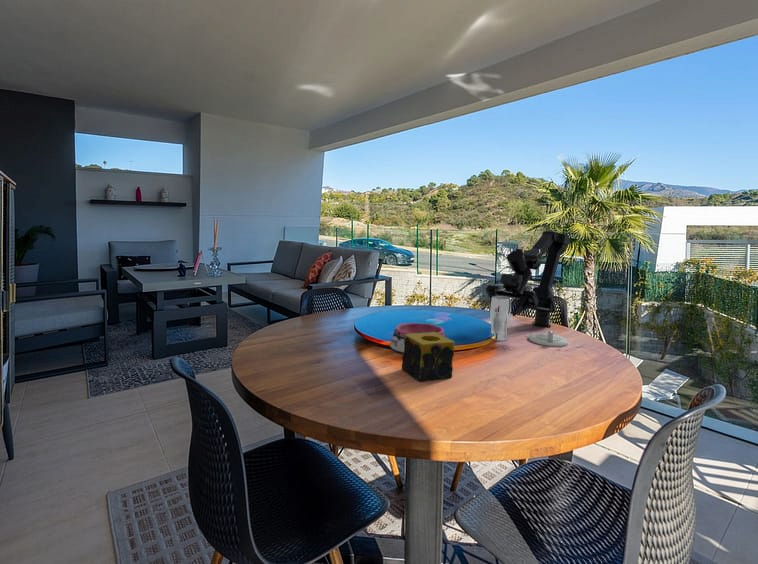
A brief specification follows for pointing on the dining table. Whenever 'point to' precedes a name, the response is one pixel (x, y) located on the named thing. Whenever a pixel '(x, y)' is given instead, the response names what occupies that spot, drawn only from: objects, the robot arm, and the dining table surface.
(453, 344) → the candle
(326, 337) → the dining table surface
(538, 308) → the robot arm
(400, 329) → the dog bowl
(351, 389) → the dining table surface
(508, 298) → the beer glass
